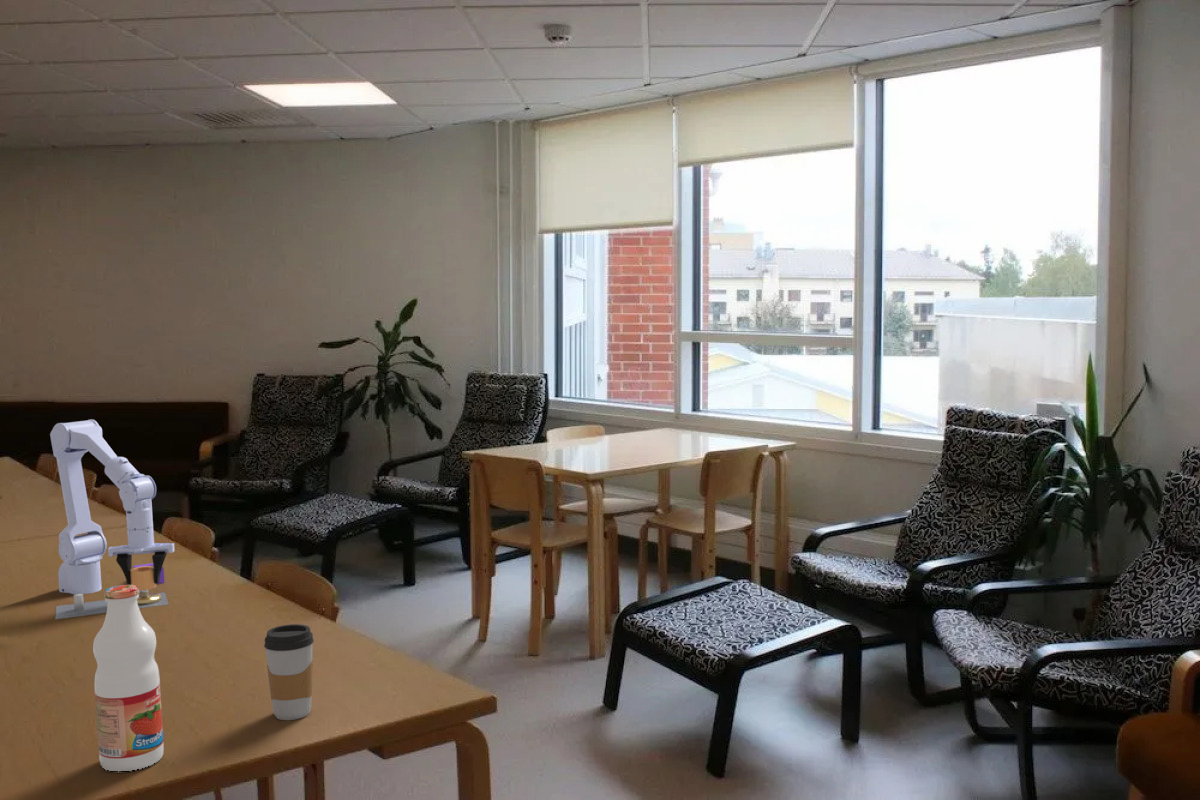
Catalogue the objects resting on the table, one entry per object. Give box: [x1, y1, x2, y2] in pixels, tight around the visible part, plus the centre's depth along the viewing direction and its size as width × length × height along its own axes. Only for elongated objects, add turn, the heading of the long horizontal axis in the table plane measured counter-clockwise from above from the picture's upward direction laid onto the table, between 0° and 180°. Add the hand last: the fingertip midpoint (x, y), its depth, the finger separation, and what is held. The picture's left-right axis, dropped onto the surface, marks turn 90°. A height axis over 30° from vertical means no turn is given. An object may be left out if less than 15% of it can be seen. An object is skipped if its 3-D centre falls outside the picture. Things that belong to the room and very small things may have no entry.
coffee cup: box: [263, 623, 314, 721], centre depth 187 cm, size 8×8×15 cm
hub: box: [137, 589, 161, 605], centre depth 257 cm, size 7×7×5 cm
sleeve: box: [130, 566, 157, 590], centre depth 256 cm, size 5×5×4 cm
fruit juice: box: [92, 584, 165, 773], centre depth 169 cm, size 9×9×28 cm
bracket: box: [132, 562, 165, 585], centre depth 277 cm, size 12×7×7 cm, turn 30°
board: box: [55, 592, 169, 620], centre depth 254 cm, size 24×12×5 cm, turn 116°
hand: (143, 583), depth 256 cm, fingers closed on sleeve, 5 cm apart
